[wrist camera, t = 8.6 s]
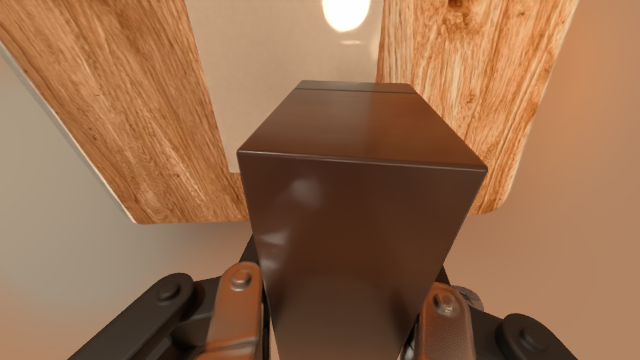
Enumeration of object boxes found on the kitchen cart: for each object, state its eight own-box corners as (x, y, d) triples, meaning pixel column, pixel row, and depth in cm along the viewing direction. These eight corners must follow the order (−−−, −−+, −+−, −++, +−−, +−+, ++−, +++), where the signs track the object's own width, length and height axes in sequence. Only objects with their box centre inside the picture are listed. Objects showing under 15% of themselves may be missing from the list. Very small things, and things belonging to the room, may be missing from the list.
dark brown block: (370, 270, 15) (379, 397, 10) (306, 263, 15) (283, 383, 10) (410, 83, 8) (492, 167, 3) (300, 79, 9) (233, 150, 4)
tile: (363, 172, 26) (364, 180, 25) (235, 166, 27) (229, 172, 26) (392, -94, 15) (396, -106, 14) (175, -80, 16) (160, -89, 15)
